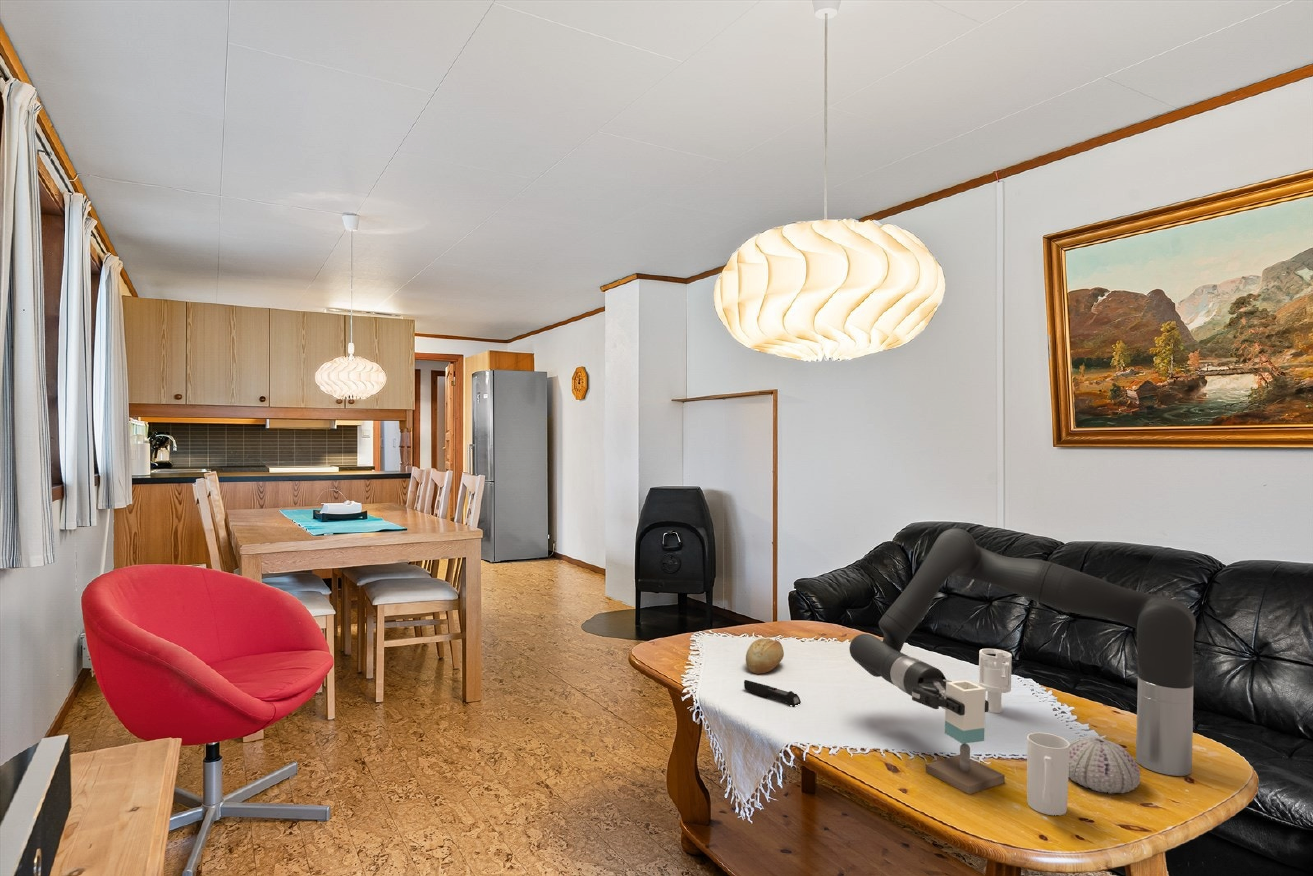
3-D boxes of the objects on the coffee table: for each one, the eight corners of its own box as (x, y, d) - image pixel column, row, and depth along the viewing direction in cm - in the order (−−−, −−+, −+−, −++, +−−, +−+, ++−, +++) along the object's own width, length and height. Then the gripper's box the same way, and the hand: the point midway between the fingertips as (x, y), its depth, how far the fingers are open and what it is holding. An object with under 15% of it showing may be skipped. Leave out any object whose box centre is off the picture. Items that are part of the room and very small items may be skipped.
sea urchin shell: (1156, 789, 140) (1157, 747, 140) (1113, 806, 134) (1114, 761, 134) (1087, 761, 152) (1088, 722, 152) (1045, 775, 146) (1045, 734, 146)
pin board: (960, 761, 151) (961, 729, 151) (1004, 782, 142) (1005, 748, 142) (925, 772, 146) (926, 739, 146) (968, 794, 137) (969, 759, 137)
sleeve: (965, 730, 147) (967, 680, 147) (984, 740, 142) (985, 688, 142) (944, 733, 146) (946, 682, 145) (962, 744, 141) (964, 691, 141)
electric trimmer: (749, 689, 192) (749, 677, 192) (801, 704, 181) (801, 691, 181) (740, 693, 189) (740, 681, 189) (793, 708, 179) (793, 695, 179)
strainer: (982, 715, 175) (983, 651, 175) (974, 704, 182) (976, 643, 182) (1014, 717, 174) (1015, 653, 174) (1005, 706, 181) (1006, 644, 181)
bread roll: (789, 663, 213) (790, 635, 213) (773, 678, 199) (774, 649, 199) (757, 658, 217) (757, 630, 217) (739, 673, 204) (740, 644, 203)
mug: (1026, 794, 138) (1027, 729, 137) (1068, 803, 135) (1069, 737, 134) (1024, 819, 129) (1025, 750, 129) (1068, 829, 126) (1070, 759, 125)
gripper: (888, 664, 155) (944, 693, 139) (945, 658, 160) (1006, 685, 143) (887, 699, 155) (943, 732, 139) (944, 693, 160) (1005, 724, 144)
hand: (975, 708), depth 141 cm, fingers closed on sleeve, 5 cm apart
